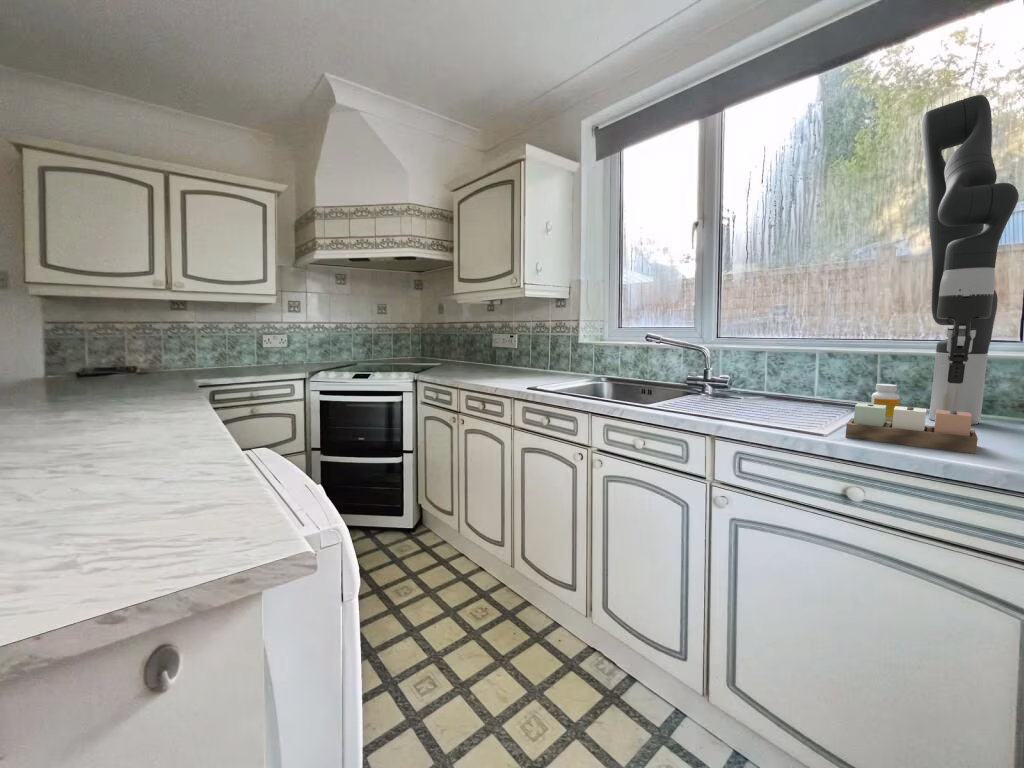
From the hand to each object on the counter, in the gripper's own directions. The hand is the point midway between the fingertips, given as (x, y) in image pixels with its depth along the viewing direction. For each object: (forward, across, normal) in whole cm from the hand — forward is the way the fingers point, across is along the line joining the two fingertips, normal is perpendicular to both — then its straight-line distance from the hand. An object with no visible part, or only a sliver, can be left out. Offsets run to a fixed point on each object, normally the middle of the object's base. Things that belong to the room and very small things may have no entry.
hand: (954, 383), depth 90 cm
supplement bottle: (+13, -19, -11) cm, 26 cm away
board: (+13, 0, -6) cm, 14 cm away
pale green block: (+10, 0, -13) cm, 16 cm away
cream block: (+10, 0, -6) cm, 12 cm away
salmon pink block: (+10, 0, 0) cm, 10 cm away
